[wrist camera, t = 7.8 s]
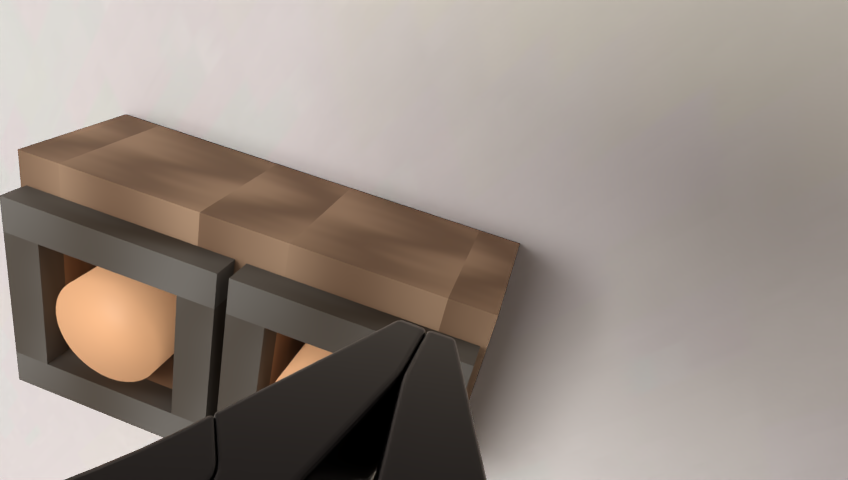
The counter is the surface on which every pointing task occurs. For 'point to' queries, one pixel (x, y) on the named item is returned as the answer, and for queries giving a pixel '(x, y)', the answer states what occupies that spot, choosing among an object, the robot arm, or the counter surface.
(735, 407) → the counter surface
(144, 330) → the peg
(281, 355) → the socket block
